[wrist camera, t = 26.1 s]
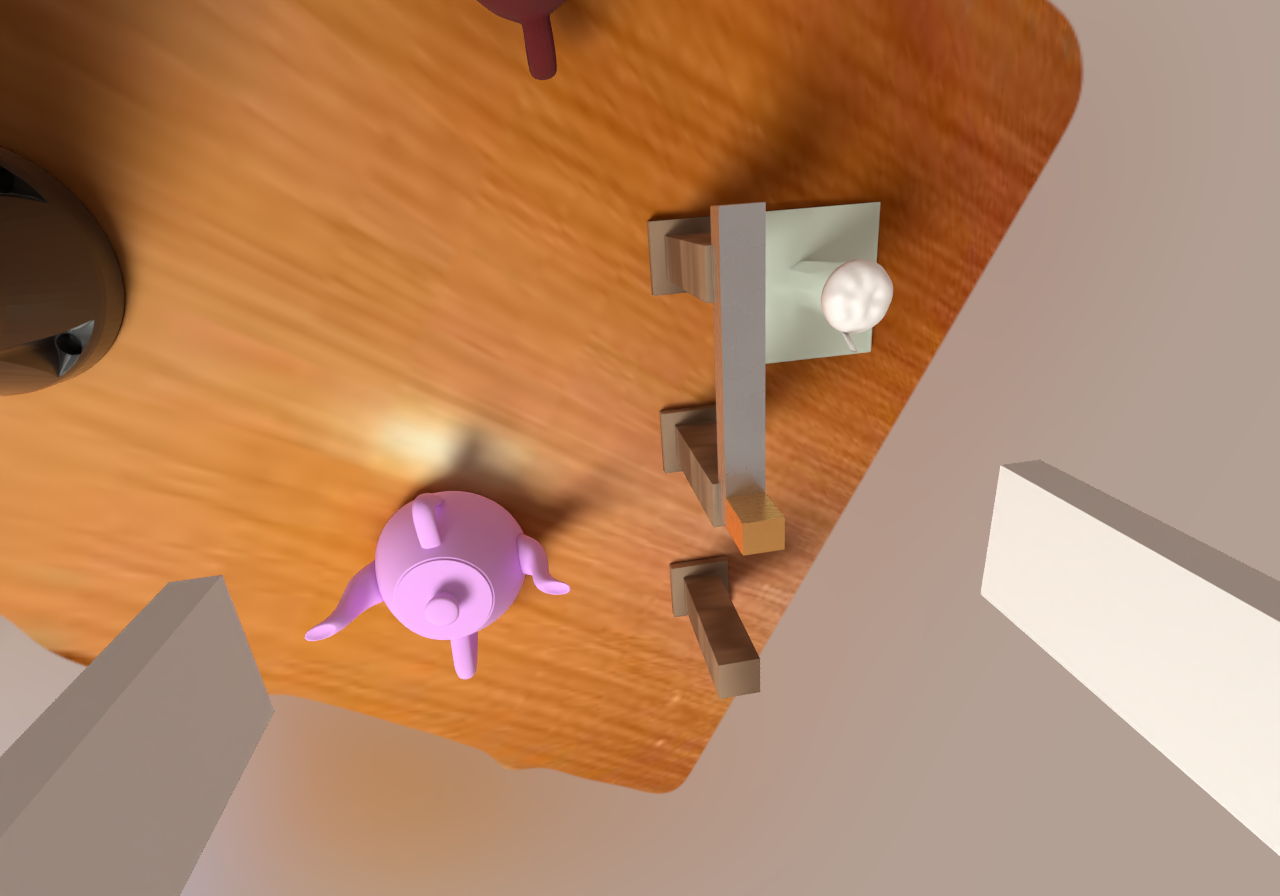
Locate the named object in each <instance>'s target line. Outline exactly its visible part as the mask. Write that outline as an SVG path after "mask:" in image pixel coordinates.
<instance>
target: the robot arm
mask: <svg viewBox="0 0 1280 896" xmlns="http://www.w3.org/2000/svg"><path fill="white" fill-rule="evenodd" d="M123 312H124V286H123V280H122V275H121V271H120V267H119V264H118V261H117V258H116V256H115V253H114V251H113V249H112V247H111V245H110V242H109V240H108V239H107V237H106V235H105V233H104V232H103V230H102V228H101V227H100V225H99V224H98V222H97V221H96V220H95V218H94V217H93V216H92V214H91V213H90V212H89V211H88V209H87V208H86V207H85V206H84V205H83V204H82V202H81V201H80V200H79V199H78V198H77V197H76V196H75V195H74V194H73V193H72V192H71V191H70V190H69V189H67V188H66V187H65V186H64V185H63V184H62V183H61V182H59V181H58V180H57V179H56V178H54V177H53V176H52V175H50V174H49V173H48V172H46V171H45V170H43V169H42V168H40V167H39V166H37V165H36V164H34V163H32V162H31V161H29V160H27V159H26V158H24V157H22V156H20V155H18V154H16V153H14V152H12V151H10V150H7V149H5V148H3V147H0V396H9V395H17V394H24V393H29V392H34V391H38V390H41V389H44V388H47V387H50V386H52V385H55V384H58V383H61V382H63V381H66V380H69V379H71V378H73V377H75V376H78V375H80V374H81V373H83V372H85V371H86V370H88V369H89V368H91V367H92V366H93V365H94V364H96V363H97V362H98V361H99V360H100V359H101V358H102V357H103V356H104V355H105V354H106V352H107V351H108V350H109V348H110V347H111V345H112V344H113V342H114V340H115V338H116V336H117V334H118V331H119V329H120V326H121V322H122V318H123ZM981 595H982V596H984V597H985V598H986V599H987V600H988V601H989V602H990V603H992V604H993V605H994V606H995V607H996V608H997V609H998V610H1000V611H1001V612H1002V613H1003V614H1004V615H1005V616H1006V617H1008V618H1009V619H1010V620H1011V621H1012V622H1013V623H1014V624H1016V625H1017V626H1018V627H1019V628H1020V629H1021V630H1022V631H1024V632H1025V633H1026V634H1027V635H1028V636H1030V638H1032V639H1033V640H1034V641H1035V642H1036V643H1037V644H1038V645H1040V646H1041V647H1042V648H1043V649H1044V650H1045V651H1046V652H1047V653H1049V654H1050V655H1051V656H1052V657H1053V658H1054V659H1055V660H1057V661H1058V662H1059V663H1060V664H1061V665H1062V666H1064V667H1065V668H1066V669H1067V670H1068V671H1069V672H1070V673H1071V674H1073V675H1074V676H1075V677H1076V678H1077V679H1078V680H1080V681H1081V682H1082V683H1083V684H1084V685H1085V686H1087V688H1089V689H1090V690H1091V691H1092V692H1093V693H1094V694H1095V695H1097V696H1098V697H1099V698H1100V699H1101V700H1102V701H1103V702H1105V703H1106V704H1107V705H1108V706H1109V707H1110V708H1111V709H1113V710H1114V711H1115V712H1116V713H1117V714H1118V715H1119V716H1121V717H1122V718H1123V719H1124V720H1125V721H1126V722H1127V723H1129V724H1130V725H1131V726H1132V727H1133V728H1134V729H1135V730H1137V731H1138V732H1139V733H1140V734H1141V735H1142V736H1143V737H1145V738H1146V739H1147V740H1148V741H1149V742H1150V743H1151V744H1152V745H1154V746H1155V747H1156V748H1157V749H1158V750H1159V751H1160V752H1162V753H1163V754H1164V755H1165V756H1166V757H1167V758H1169V759H1170V760H1171V761H1172V762H1173V763H1174V764H1175V765H1176V766H1178V767H1179V768H1180V769H1181V770H1182V771H1183V772H1184V773H1186V774H1187V775H1188V776H1189V777H1190V778H1191V779H1192V780H1194V781H1195V782H1196V783H1197V784H1198V785H1199V786H1201V787H1202V788H1203V789H1204V790H1205V791H1206V792H1207V793H1208V794H1210V795H1211V796H1212V797H1213V798H1214V799H1215V800H1216V801H1218V802H1219V803H1220V804H1221V805H1222V806H1223V807H1224V808H1226V809H1227V810H1228V811H1229V812H1230V813H1231V814H1232V815H1233V816H1235V817H1236V818H1237V819H1238V820H1239V821H1240V822H1242V823H1243V824H1244V825H1245V826H1246V827H1247V828H1248V829H1250V830H1251V831H1252V832H1253V833H1254V834H1255V835H1256V836H1257V837H1259V838H1260V839H1261V840H1262V841H1263V842H1264V843H1266V844H1267V845H1268V846H1269V847H1270V848H1271V849H1272V850H1273V851H1275V852H1276V853H1277V854H1278V855H1279V856H1280V582H1279V581H1277V580H1275V579H1274V578H1272V577H1270V576H1268V575H1266V574H1264V573H1262V572H1260V571H1258V570H1256V569H1254V568H1251V567H1250V566H1248V565H1246V564H1244V563H1242V562H1240V561H1238V560H1236V559H1234V558H1232V557H1230V556H1228V555H1226V554H1224V553H1222V552H1220V551H1218V550H1216V549H1214V548H1212V547H1210V546H1208V545H1207V544H1205V543H1203V542H1201V541H1199V540H1197V539H1195V538H1193V537H1191V536H1189V535H1187V534H1185V533H1183V532H1181V531H1179V530H1177V529H1175V528H1173V527H1171V526H1169V525H1167V524H1165V523H1163V522H1161V521H1159V520H1157V519H1155V518H1153V517H1151V516H1149V515H1148V514H1146V513H1143V512H1142V511H1139V510H1138V509H1136V508H1134V507H1132V506H1130V505H1128V504H1126V503H1124V502H1122V501H1120V500H1118V499H1116V498H1114V497H1112V496H1110V495H1108V494H1106V493H1104V492H1102V491H1100V490H1098V489H1096V488H1094V487H1092V486H1090V485H1088V484H1086V483H1085V482H1083V481H1080V480H1078V479H1076V478H1075V477H1073V476H1071V475H1069V474H1067V473H1065V472H1063V471H1061V470H1059V469H1057V468H1055V467H1053V466H1051V465H1049V464H1047V463H1045V462H1043V461H1041V460H1034V461H1028V462H1020V463H1013V464H1006V465H1001V466H1000V473H999V479H998V486H997V492H996V499H995V505H994V511H993V518H992V524H991V531H990V537H989V544H988V550H987V556H986V563H985V570H984V576H983V582H982V589H981ZM273 713H274V709H273V706H272V704H271V701H270V699H269V696H268V693H267V691H266V688H265V686H264V683H263V680H262V678H261V675H260V673H259V670H258V667H257V665H256V662H255V659H254V657H253V654H252V652H251V649H250V646H249V644H248V641H247V639H246V636H245V633H244V631H243V628H242V626H241V623H240V620H239V618H238V615H237V613H236V610H235V607H234V605H233V602H232V599H231V597H230V594H229V592H228V589H227V586H226V584H225V581H224V579H223V576H222V575H218V576H211V577H204V578H197V579H190V580H183V581H176V582H169V583H168V584H167V585H166V586H165V587H164V588H163V589H162V590H161V591H160V592H159V593H158V594H157V595H156V596H155V597H154V599H153V600H152V601H151V602H150V603H149V604H148V605H147V606H146V607H145V608H144V609H143V610H142V611H141V612H140V613H139V614H138V615H137V616H136V617H135V618H134V619H133V620H132V621H131V622H130V623H129V624H128V625H127V626H126V627H125V629H124V630H123V631H122V632H121V633H120V634H119V635H118V636H117V637H116V638H115V639H114V640H113V641H112V642H111V643H110V644H109V645H108V646H107V647H106V648H105V649H104V650H103V651H102V652H101V653H100V654H99V655H98V656H97V657H96V659H95V660H94V661H93V662H92V663H91V664H90V665H89V666H88V667H87V668H86V669H85V670H84V671H83V672H82V673H81V674H80V675H79V676H78V677H77V678H76V679H75V680H74V681H73V682H72V683H71V684H70V685H69V686H68V687H67V689H66V690H65V691H64V692H63V693H62V694H61V695H60V696H59V697H58V698H57V699H56V700H55V701H54V702H53V703H52V704H51V705H50V706H49V707H48V708H47V709H46V710H45V711H44V712H43V714H41V715H40V717H39V718H38V719H37V720H36V721H35V722H34V723H33V724H32V725H31V726H30V727H29V728H28V729H27V730H26V731H25V732H24V733H23V734H22V735H21V736H20V737H19V738H18V739H17V740H16V741H15V742H14V744H12V745H11V747H9V749H8V750H7V751H6V752H5V753H4V754H3V755H2V756H1V757H0V896H180V894H181V892H182V890H183V888H184V886H185V885H186V883H187V881H188V879H189V877H190V875H191V873H192V871H193V869H194V867H195V865H196V863H197V861H198V859H199V857H200V855H201V853H202V852H203V849H204V848H205V846H206V844H207V842H208V840H209V838H210V836H211V834H212V832H213V830H214V828H215V826H216V824H217V822H218V820H219V818H220V816H221V815H222V813H223V811H224V809H225V807H226V805H227V803H228V801H229V798H230V797H231V795H232V793H233V791H234V789H235V787H236V785H237V783H238V781H239V779H240V777H241V775H242V774H243V772H244V770H245V768H246V766H247V764H248V762H249V760H250V758H251V756H252V754H253V752H254V750H255V748H256V746H257V744H258V742H259V741H260V738H261V737H262V734H263V733H264V731H265V729H266V727H267V725H268V723H269V721H270V719H271V717H272V715H273Z"/></svg>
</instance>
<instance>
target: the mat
mask: <svg viewBox="0 0 1280 896" xmlns="http://www.w3.org/2000/svg"><path fill="white" fill-rule="evenodd" d="M879 218H880V202H871V203H859V204H847V205H835V206H823V207H812V208H800V209H788V210H776V211H766V306H765V364H768V363H777V362H786V361H795V360H803V359H812V358H821V357H830V356H838V355H847V354H856V353H865V352H871V339H872V328H870V329H869V330H867V331H865V332H862V333H856V334H849V333H848V334H849V336H850V338H851V340H852V342H853V344H854V346H855V348H856V350H857V352H853V351H851V350H850V348H849V346H848V344H847V342H846V340H845V338H844V336H843V334H842V332H841V331H838V330H836V329H835V328H833V327H832V326H831V325H829V324H828V323H826V322H825V321H824V320H822V319H821V318H820V317H818V316H817V315H815V314H814V313H812V312H810V311H809V310H807V309H805V308H804V307H802V306H800V305H799V304H798V303H796V302H795V301H793V300H792V299H791V298H789V296H788V293H787V289H786V285H785V283H786V280H787V277H788V274H789V271H790V270H791V269H792V268H793V267H794V266H795V265H797V264H798V263H799V262H800V261H809V260H834V261H838V260H853V259H866V260H871V261H874V262H876V263H877V248H878V233H879Z"/></svg>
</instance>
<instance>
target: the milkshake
mask: <svg viewBox="0 0 1280 896" xmlns="http://www.w3.org/2000/svg"><path fill="white" fill-rule="evenodd" d="M785 285H786V289H787V293H788V296H789V298H791V299H792V300H793V301H795V302H796V303H798V304H799V305H800V306H802V307H804V308H805V309H807V310H809V311H810V312H812V313H814V314H815V315H817V316H818V317H820V318H821V319H822V320H824V321H825V322H826V323H828V324H829V325H831V326H832V327H833V328H835V329H836V330H838V331H841V332H842V334H843V336H844V338H845V340H846V342H847V344H848V346H849V348H850V350H851V351H853V352H857V350H856V348H855V346H854V344H853V342H852V340H851V338H850V336H849V334H856V333H862V332H865V331H867V330H869V329H870V328H872V327H873V326H875V325H876V324H877V323H878V322H879V321H880V320H881V319H882V318H883V317H884V315H885V314H886V312H887V310H888V307H889V305H890V303H891V300H892V296H893V284H892V281H891V279H890V277H889V276H888V274H887V272H886V271H885V269H884V268H883V267H882V266H881V265H879V264H878V263H876V262H874V261H871V260H866V259H853V260H838V261H834V260H809V261H800V262H799V263H798V264H797V265H795V266H794V267H793V268H792V269H791V270H790V271H789V274H788V277H787V280H786V283H785ZM848 333H849V334H848Z"/></svg>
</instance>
